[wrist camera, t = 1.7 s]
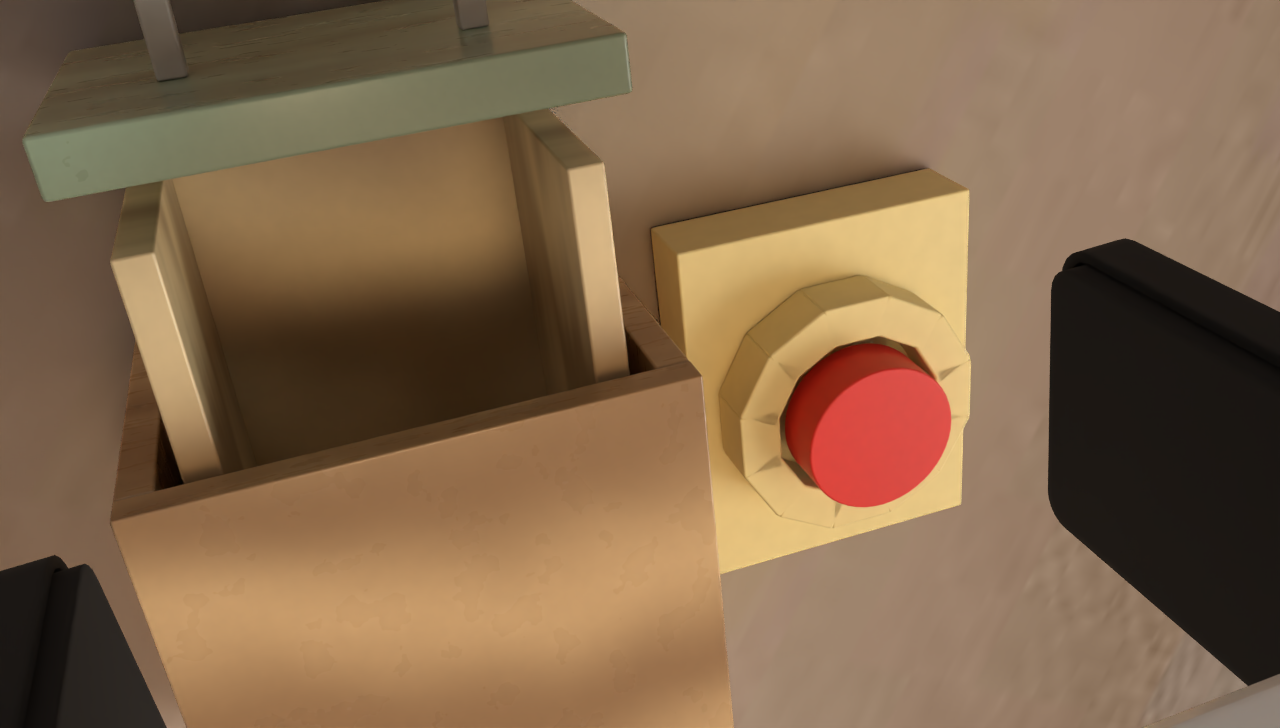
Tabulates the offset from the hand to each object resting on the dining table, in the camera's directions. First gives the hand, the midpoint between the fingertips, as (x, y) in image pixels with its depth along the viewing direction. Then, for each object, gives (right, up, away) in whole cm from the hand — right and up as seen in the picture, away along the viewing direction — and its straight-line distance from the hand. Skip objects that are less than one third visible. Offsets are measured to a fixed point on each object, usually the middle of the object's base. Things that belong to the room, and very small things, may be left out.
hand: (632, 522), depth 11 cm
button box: (+5, +2, +27) cm, 27 cm away
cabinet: (-7, -2, +24) cm, 25 cm away
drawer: (-7, +6, +19) cm, 21 cm away
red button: (+6, 0, +24) cm, 24 cm away
